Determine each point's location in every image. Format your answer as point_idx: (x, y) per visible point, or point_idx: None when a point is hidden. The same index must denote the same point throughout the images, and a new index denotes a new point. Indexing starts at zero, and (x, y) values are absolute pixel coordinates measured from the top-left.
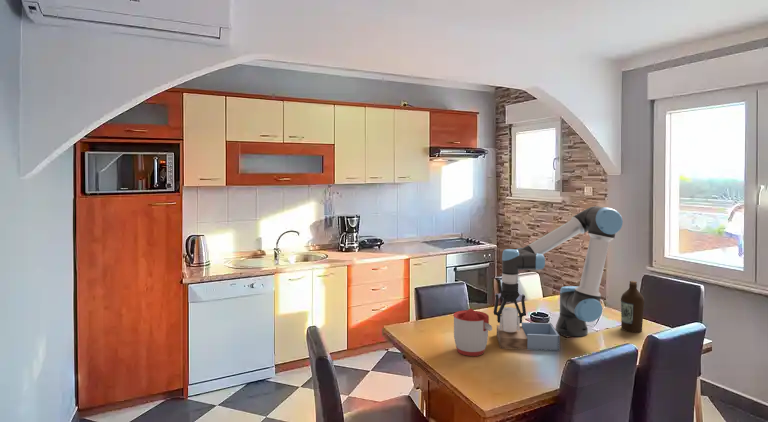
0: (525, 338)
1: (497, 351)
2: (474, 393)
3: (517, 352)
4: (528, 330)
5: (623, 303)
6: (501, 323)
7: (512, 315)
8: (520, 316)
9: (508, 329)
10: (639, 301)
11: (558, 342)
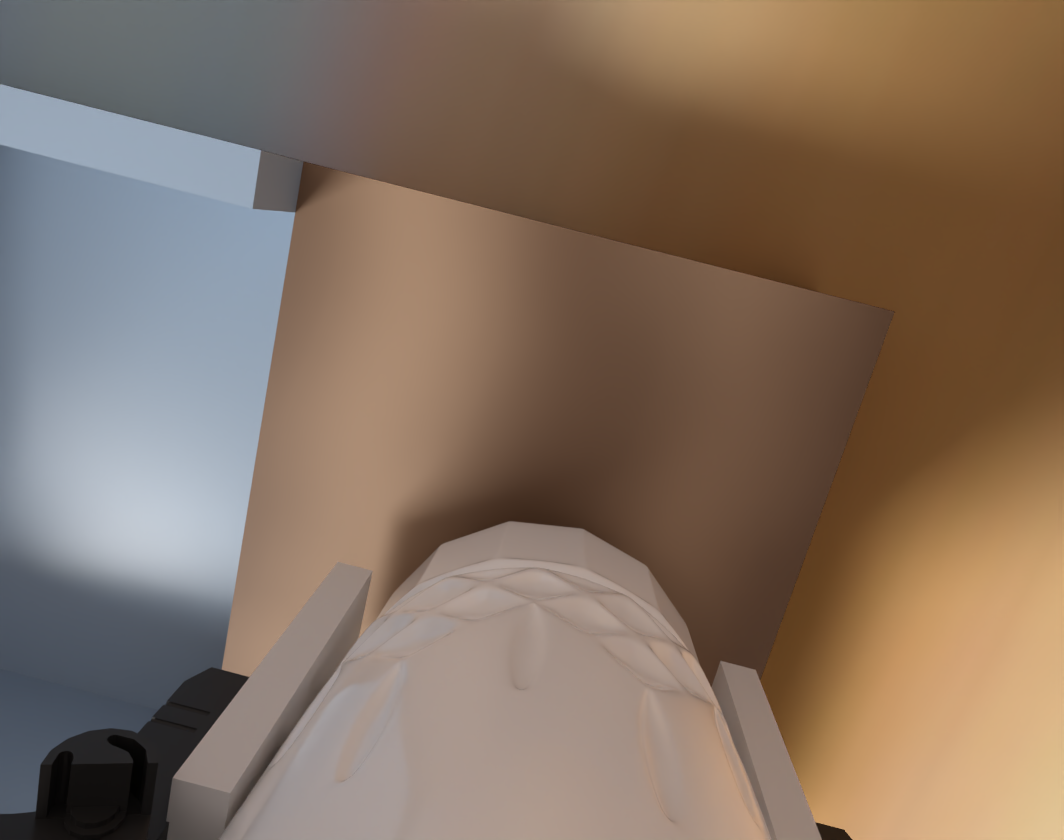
0: (341, 191)
1: (935, 155)
2: None
3: (594, 64)
4: None
5: None
6: (764, 767)
7: (484, 772)
8: (131, 773)
9: (612, 565)
10: None
11: None
